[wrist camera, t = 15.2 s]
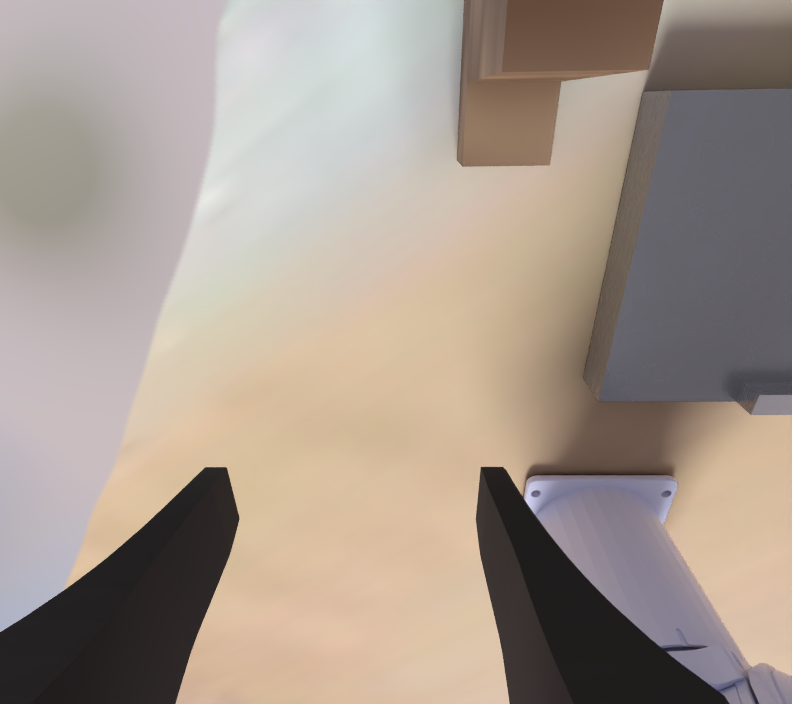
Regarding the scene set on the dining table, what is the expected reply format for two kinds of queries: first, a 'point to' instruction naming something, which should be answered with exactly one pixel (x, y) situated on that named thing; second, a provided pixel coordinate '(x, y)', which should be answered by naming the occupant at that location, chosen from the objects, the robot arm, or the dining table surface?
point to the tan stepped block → (539, 68)
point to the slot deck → (701, 256)
